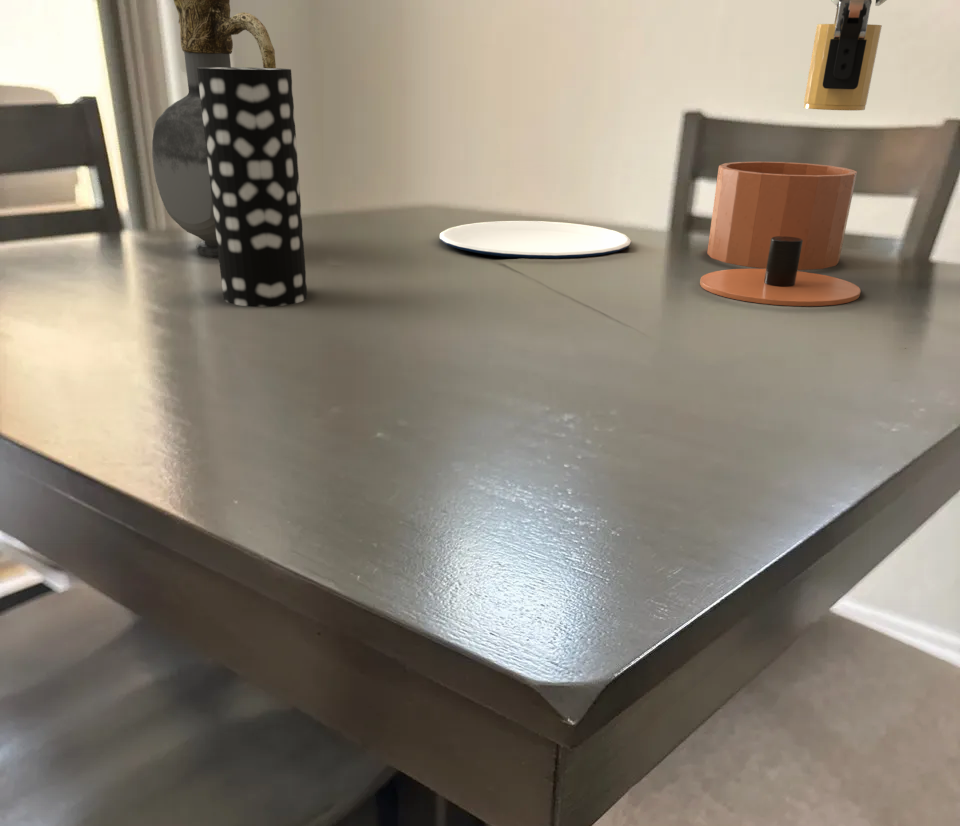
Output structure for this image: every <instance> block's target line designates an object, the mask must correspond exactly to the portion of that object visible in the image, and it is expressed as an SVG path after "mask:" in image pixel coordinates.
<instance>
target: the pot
mask: <svg viewBox="0 0 960 826" xmlns="http://www.w3.org/2000/svg"><path fill="white" fill-rule="evenodd" d="M857 175H858V171H856V170H854V169H851V168H848V167H841V166H835V165H826V164H817V163H805V162H804V163H803V162H790V161H789V162H788V161H734V162H725V163H722V164H720V165H718V170H717V177H716V186H715V191H714V199H713V207H712V213H711V214H712V215H711V222H710V228H709V229H710V230H709V238H708V246H707V251H706V252H707V253H706V254H707V255H708V256H709V257H710V258H711V259H712V260H716V261H720V262H722V263H726V264H730V265H737V266H741V267H747V268H755V269H766V267H767V261H768V255H769V249H770V243H771V238H772V237H777V236H787V237H796V238H800V239H802V240H803V242H802V248H801V253H800V259H799V264H798V270H797V271H807V270H809V271H810V270H823V269H827V268H828V269H829V268H832V267H836V266H837V265H838V264H839V262H840V259H841V253H842V250H843V244H844V239H845V236H846V235H845V234H846V231H847V224H848V220H849V214H850V209H851V204H852V200H853V196H854V195H853V194H854V189H855V185H856V181H857Z"/></svg>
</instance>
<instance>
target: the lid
mask: <svg viewBox="0 0 960 826" xmlns="http://www.w3.org/2000/svg"><path fill="white" fill-rule="evenodd" d="M802 242H803V240H802V239H800V238H796V237H787V236H777V237H772V238H771V243H770V249H769V255H768V261H767V267H766V268H733V269H730V268H729V269H722V270H715V271H711V272H708V273H706V274H704V275H702V276H701V277H700V280H699V285H700V287H701V288H702V289H703V290H705V291H707V292H709V293H711V294H714V295H717V296H719V297H720V296H721V297H723V298H728V299H731V300H737V301H743V302H748V303H756V304H763V305H772V306H786V307H787V306H790V307H824V306H827V307H828V306H836V305H837V306H838V305H842V304H843V305H844V304H848V303H851V302H854V301H856V300H858V299H859V297H860V296H861V288H860V287H859V286H858V285H857V284H855V283H853V282H850V281H848V280H845V279H841V278H838V277H834V276H831V275H827V274H819V273H813V272H807V271H802V270H798V264H799V259H800V253H801V248H802Z"/></svg>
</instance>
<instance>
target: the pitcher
mask: <svg viewBox="0 0 960 826" xmlns="http://www.w3.org/2000/svg"><path fill="white" fill-rule="evenodd" d="M230 1H231V0H173V4H174V6H175V9H176V11H177V14H178V24H179V37H180V38H179V39H180V46H181V51H182V52H183V53H184V54H183V55H184V60H185V61H184V62H185V70H186V79H187V87H188V94H186V95H185V96H183V97H182V98H180V99H179V100H176V101H175V102H173V103H172V104H171V105H169V106H168V107H167V108H166V109H165V110H164V111H163V112H162V113H161V114H160V116H159V117H158V118H157V119H156V121H155V124H154V127H153V128H154V129H153V132H152V142H151V145H152V147H151V148H152V149H151V156H152V168H153V173H154V174H153V175H154V178H155V179H154V180H155V183H156V187H157V190H158V193H159V197H160V199H161V201H162V204H163V206H164V208H165V211H167V214H168V215H169V217H170V218H171V219H172V220H173V221H174V222H175V223H176V224H177V225H178V226H179V227H180V228H182V229H183V230H184V231H185V232H186V233H189V234H191V235H193V236H196V237H197V238H199V239H201V240H202V241H200V242H198V243H197V244H196V245H195V250H196V252H197V254H198V255H200V256H203V257H208V258H216V259H219V255H218V246H217V237H216V229H215V220H214V211H213V203H212V194H211V185H210V177H209V168H208V159H207V151H206V142H205V133H204V125H203V116H202V107H201V99H200V90H199V82H198V73H197V68H199V67H232V64H231V54H233V49H234V43H233V42H234V41H233V37H232V36H236V35H239V34H240V33H242V32H243V31H246V32H248V33H250V34H251V35H252V36H253V38H254V39H255V41H256V43H257V45H258V48H259V52H260V55H261V61H262V68H277V64H276V53H275V52H276V51H275V48H274V46H273V43H272V40H271V38H270V34H269V32H268V30H267V28H266V26H265V25H264V24H263V23H262V21H260V19H259V18H258V17H257V16H255V15H253V14H251V13H249V12H245V11H244V12H238V13H236V14H234V15H233V16H231V4H230V3H231V2H230Z"/></svg>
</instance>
